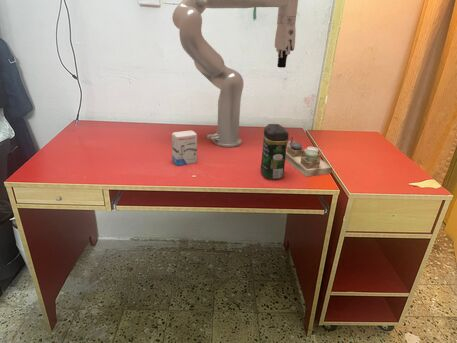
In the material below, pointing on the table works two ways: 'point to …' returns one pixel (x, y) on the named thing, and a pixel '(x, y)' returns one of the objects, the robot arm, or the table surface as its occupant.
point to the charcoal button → (296, 146)
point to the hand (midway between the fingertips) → (281, 67)
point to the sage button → (311, 155)
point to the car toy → (290, 142)
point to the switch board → (307, 163)
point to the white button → (312, 148)
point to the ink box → (184, 147)
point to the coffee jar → (274, 151)
